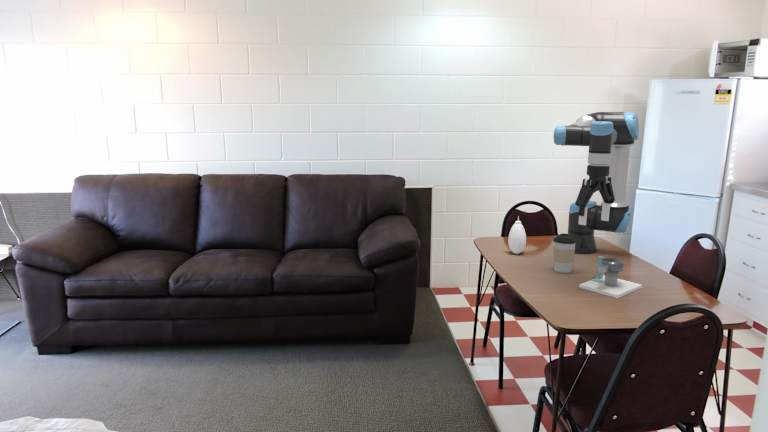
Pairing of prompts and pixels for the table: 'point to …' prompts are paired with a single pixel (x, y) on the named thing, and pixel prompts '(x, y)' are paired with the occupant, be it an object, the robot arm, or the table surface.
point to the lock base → (609, 283)
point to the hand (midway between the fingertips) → (593, 222)
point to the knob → (611, 265)
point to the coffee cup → (563, 252)
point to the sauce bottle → (517, 238)
